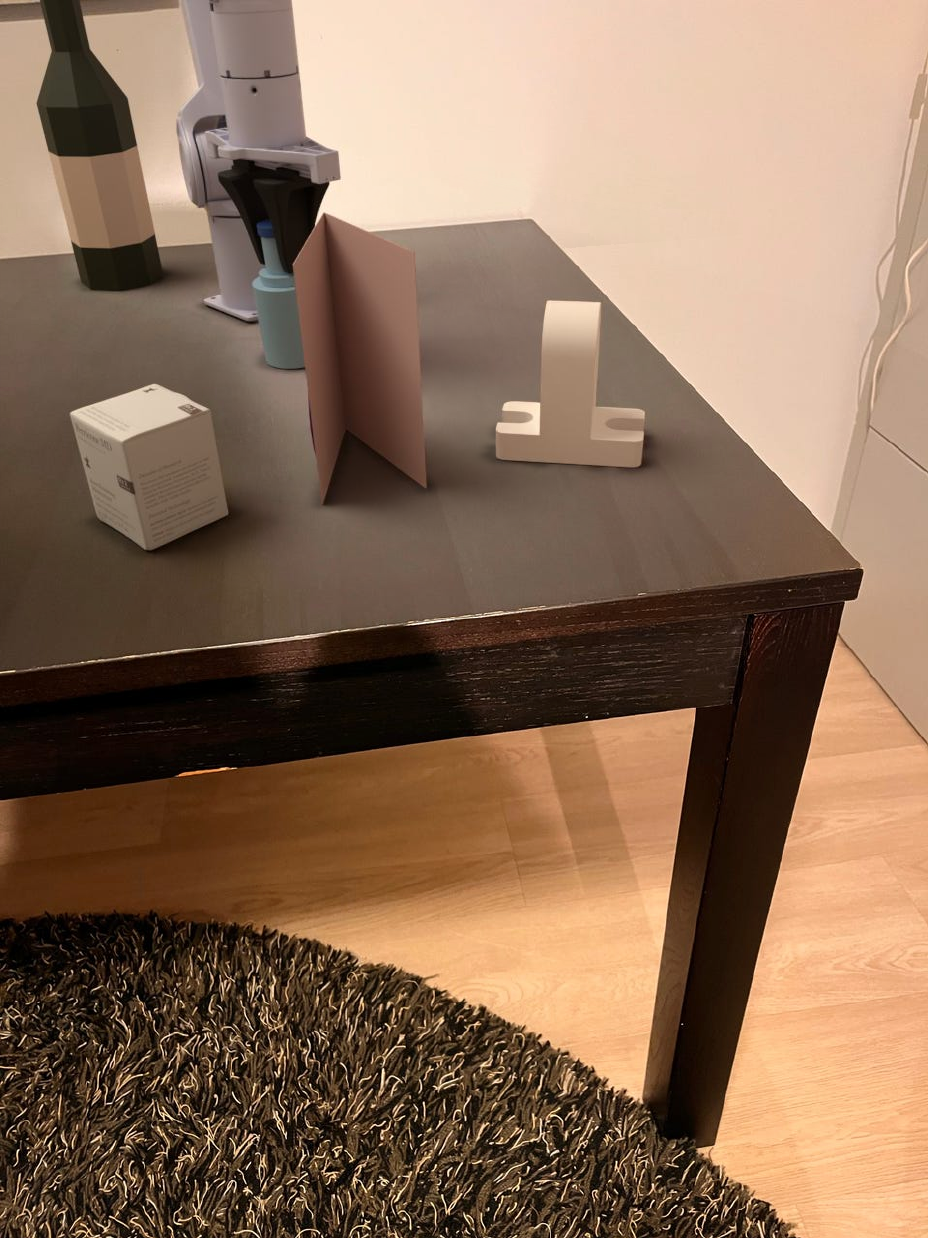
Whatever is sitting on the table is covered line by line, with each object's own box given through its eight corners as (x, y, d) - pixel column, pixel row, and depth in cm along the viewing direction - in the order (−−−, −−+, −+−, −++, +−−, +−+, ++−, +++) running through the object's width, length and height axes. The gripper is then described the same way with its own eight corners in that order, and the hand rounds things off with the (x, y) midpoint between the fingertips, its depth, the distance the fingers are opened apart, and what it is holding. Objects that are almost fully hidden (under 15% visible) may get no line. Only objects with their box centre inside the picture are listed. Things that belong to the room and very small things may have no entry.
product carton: (95, 520, 61) (64, 411, 57) (178, 485, 65) (154, 379, 61) (149, 554, 58) (120, 440, 54) (232, 515, 61) (212, 405, 57)
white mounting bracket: (505, 426, 71) (505, 287, 65) (642, 433, 70) (655, 292, 64) (494, 459, 67) (493, 314, 61) (640, 467, 65) (654, 320, 59)
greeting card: (333, 427, 72) (310, 212, 63) (434, 426, 71) (425, 210, 62) (308, 504, 62) (277, 264, 54) (424, 504, 62) (412, 263, 53)
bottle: (302, 340, 86) (282, 209, 79) (339, 355, 83) (322, 219, 76) (253, 358, 83) (228, 224, 76) (289, 374, 80) (267, 235, 73)
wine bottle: (180, 273, 103) (113, -74, 86) (118, 295, 98) (34, -71, 80) (125, 262, 107) (51, -73, 89) (64, 283, 101) (-29, -70, 84)
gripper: (158, 71, 73) (192, 258, 81) (272, 89, 64) (297, 296, 72) (239, 61, 76) (263, 241, 84) (356, 77, 68) (371, 275, 76)
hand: (284, 265), depth 79 cm, fingers closed on bottle, 3 cm apart
